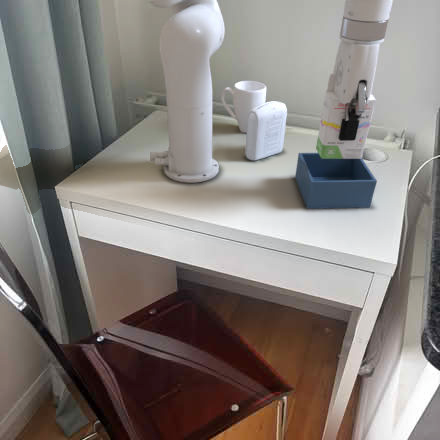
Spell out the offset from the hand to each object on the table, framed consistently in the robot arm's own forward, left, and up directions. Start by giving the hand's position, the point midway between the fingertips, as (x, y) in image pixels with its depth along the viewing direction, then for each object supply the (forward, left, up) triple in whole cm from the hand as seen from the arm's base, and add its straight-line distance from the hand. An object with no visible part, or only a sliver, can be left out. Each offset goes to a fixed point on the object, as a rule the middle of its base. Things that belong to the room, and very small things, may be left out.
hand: (342, 132), depth 90 cm
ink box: (0, 0, -5) cm, 5 cm away
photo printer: (-12, +19, -13) cm, 26 cm away
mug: (-16, +35, -13) cm, 41 cm away
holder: (0, 0, -13) cm, 13 cm away
